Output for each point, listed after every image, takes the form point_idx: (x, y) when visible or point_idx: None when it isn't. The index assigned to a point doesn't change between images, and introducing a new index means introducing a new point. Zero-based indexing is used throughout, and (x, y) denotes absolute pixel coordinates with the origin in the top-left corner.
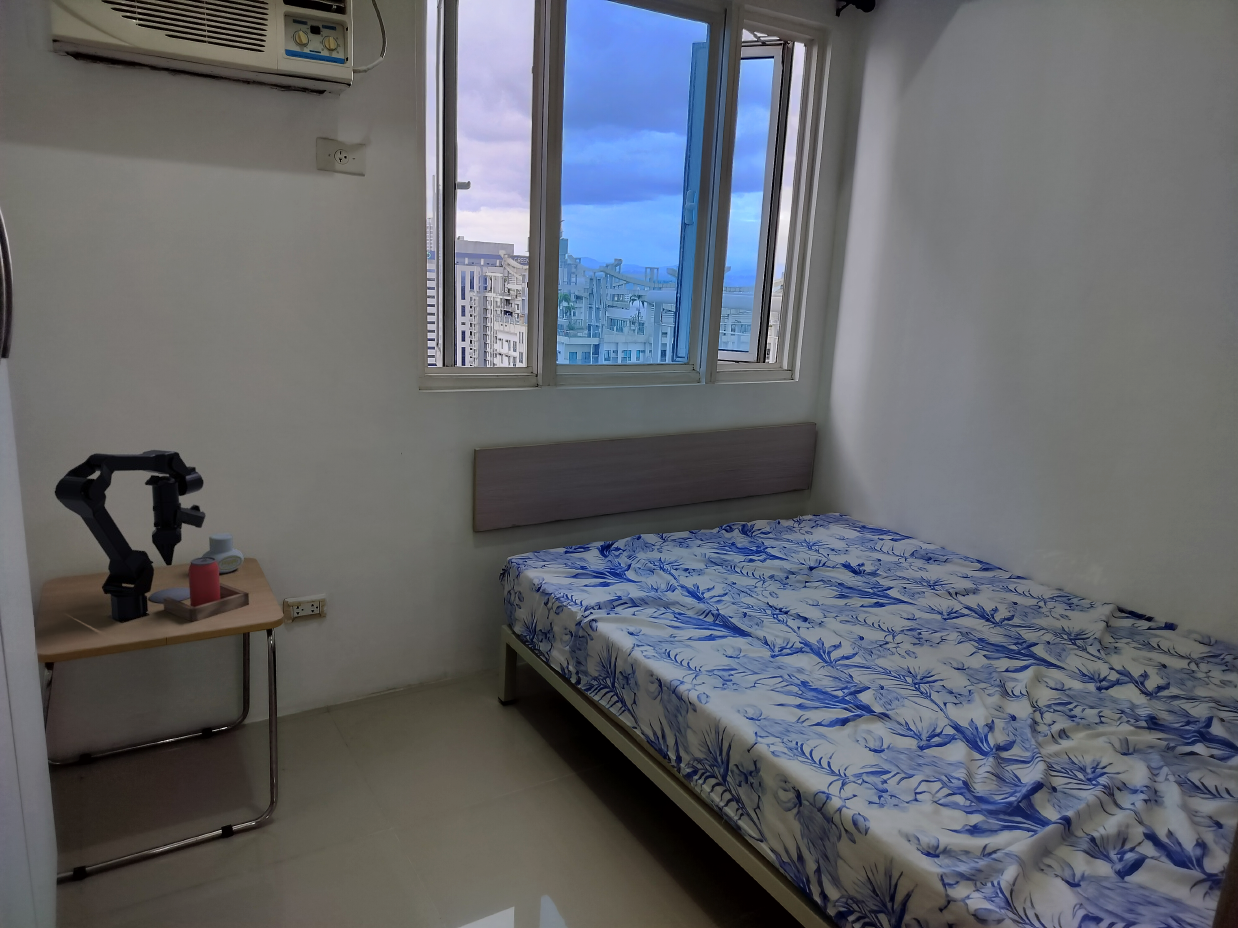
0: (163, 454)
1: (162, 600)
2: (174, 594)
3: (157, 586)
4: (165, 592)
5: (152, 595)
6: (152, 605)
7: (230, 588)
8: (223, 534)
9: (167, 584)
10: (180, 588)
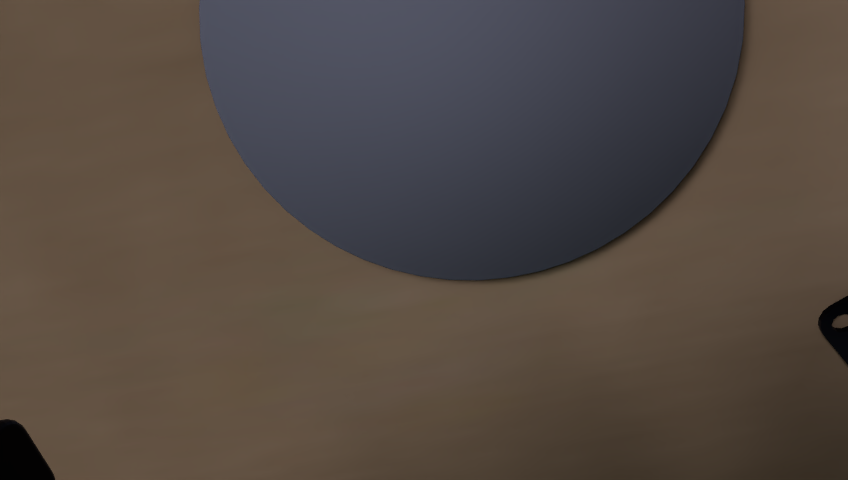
0: None
1: (683, 123)
2: (480, 30)
3: (122, 273)
4: (382, 152)
5: (469, 259)
6: (769, 193)
7: None
8: None
9: (47, 193)
10: (238, 8)
